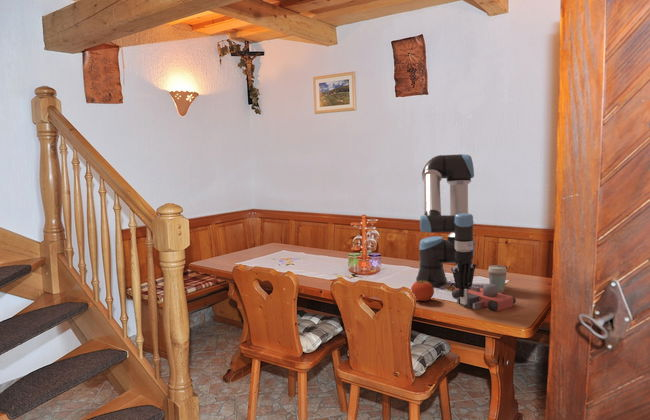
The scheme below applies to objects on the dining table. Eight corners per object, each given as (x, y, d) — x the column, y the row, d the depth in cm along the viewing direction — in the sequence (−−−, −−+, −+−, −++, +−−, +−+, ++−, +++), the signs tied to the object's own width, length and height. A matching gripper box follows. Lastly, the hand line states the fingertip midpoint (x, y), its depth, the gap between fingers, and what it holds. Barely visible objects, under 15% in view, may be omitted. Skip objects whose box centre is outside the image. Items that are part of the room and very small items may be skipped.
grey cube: (460, 304, 207) (460, 296, 207) (469, 302, 210) (469, 293, 210) (469, 307, 203) (469, 298, 202) (478, 305, 206) (478, 296, 206)
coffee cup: (508, 294, 218) (508, 269, 217) (489, 294, 220) (489, 269, 219) (505, 289, 227) (505, 264, 225) (486, 288, 228) (486, 264, 227)
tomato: (414, 296, 222) (414, 275, 220) (436, 298, 217) (436, 277, 216) (408, 302, 213) (407, 281, 212) (430, 305, 208) (430, 283, 207)
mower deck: (451, 297, 218) (451, 280, 217) (471, 292, 224) (472, 275, 223) (495, 311, 197) (495, 293, 196) (515, 305, 204) (516, 287, 203)
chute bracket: (456, 303, 209) (456, 297, 209) (466, 300, 213) (466, 295, 212) (474, 309, 201) (474, 303, 201) (484, 306, 204) (484, 300, 204)
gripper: (459, 253, 195) (459, 309, 198) (481, 249, 202) (481, 302, 205) (446, 250, 201) (446, 304, 204) (467, 246, 208) (467, 298, 211)
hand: (463, 303), depth 204 cm, fingers closed
